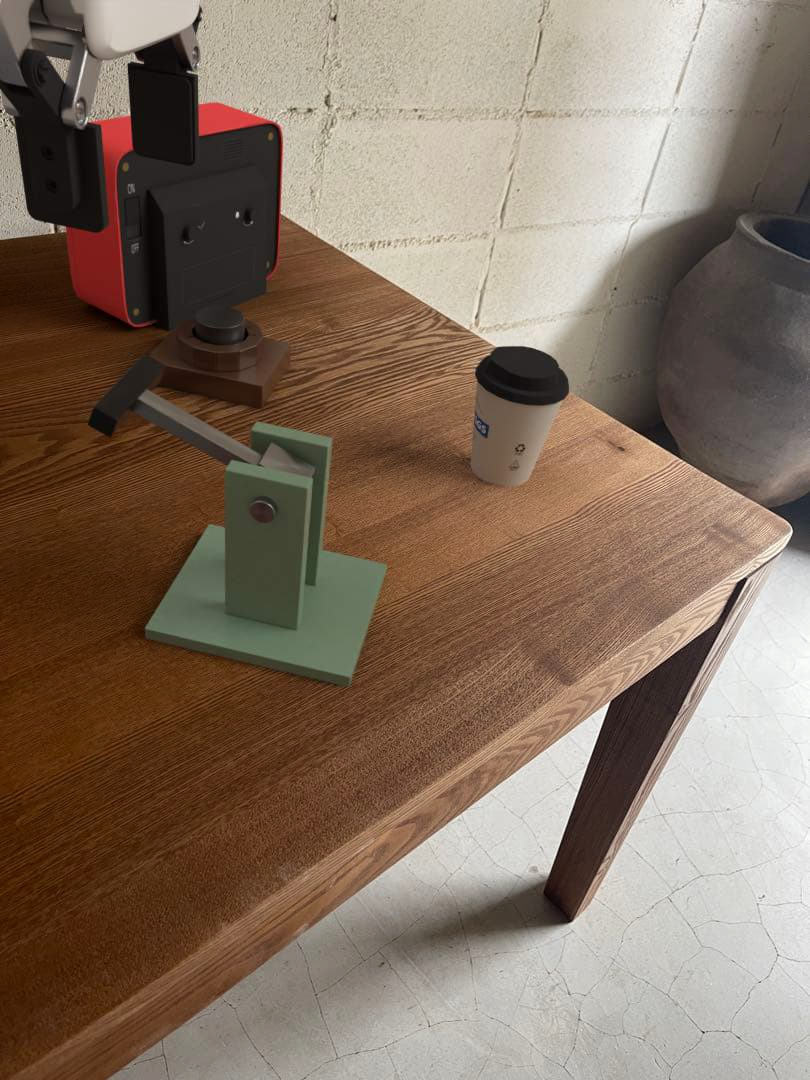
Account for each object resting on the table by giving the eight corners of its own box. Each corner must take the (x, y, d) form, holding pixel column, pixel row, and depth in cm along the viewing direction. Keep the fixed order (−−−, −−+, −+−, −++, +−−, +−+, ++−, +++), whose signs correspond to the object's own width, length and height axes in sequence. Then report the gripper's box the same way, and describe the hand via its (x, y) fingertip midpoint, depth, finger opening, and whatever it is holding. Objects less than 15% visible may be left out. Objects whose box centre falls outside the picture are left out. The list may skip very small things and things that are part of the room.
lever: (83, 432, 43) (96, 398, 42) (134, 377, 48) (147, 344, 46) (276, 540, 45) (295, 511, 44) (308, 477, 50) (325, 449, 48)
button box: (145, 384, 71) (142, 340, 69) (182, 342, 77) (181, 300, 75) (261, 409, 70) (263, 366, 68) (290, 365, 77) (292, 324, 74)
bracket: (145, 646, 49) (131, 480, 42) (209, 540, 57) (206, 384, 50) (348, 695, 49) (370, 534, 41) (384, 581, 56) (409, 429, 49)
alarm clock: (293, 286, 89) (302, 124, 79) (143, 346, 76) (131, 159, 66) (226, 256, 93) (226, 97, 83) (71, 308, 79) (49, 125, 69)
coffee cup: (549, 465, 70) (581, 354, 63) (533, 512, 64) (566, 396, 58) (466, 441, 71) (490, 330, 64) (444, 486, 65) (468, 369, 59)
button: (187, 341, 70) (187, 321, 69) (206, 321, 73) (205, 302, 72) (235, 351, 70) (235, 331, 69) (251, 331, 73) (251, 311, 72)
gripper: (96, -330, 34) (126, 126, 45) (-229, -450, 21) (-76, 237, 32) (277, -299, 34) (263, 154, 45) (62, -402, 21) (116, 278, 32)
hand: (122, 188), depth 38 cm, fingers open, 9 cm apart
